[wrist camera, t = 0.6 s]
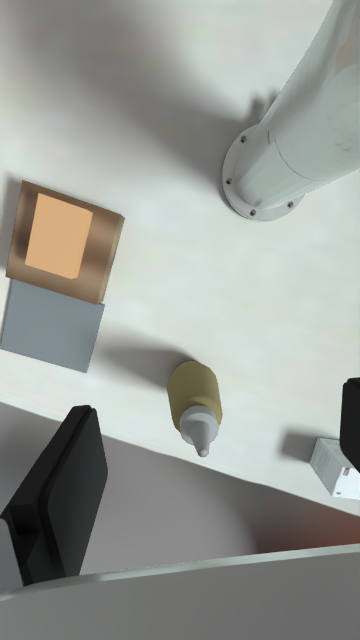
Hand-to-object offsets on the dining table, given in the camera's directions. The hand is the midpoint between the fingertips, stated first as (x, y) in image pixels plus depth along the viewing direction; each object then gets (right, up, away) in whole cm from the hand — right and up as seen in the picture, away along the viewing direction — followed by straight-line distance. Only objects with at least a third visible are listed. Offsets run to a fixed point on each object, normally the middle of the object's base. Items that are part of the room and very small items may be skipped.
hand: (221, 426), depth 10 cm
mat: (-22, +3, +32) cm, 39 cm away
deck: (-18, +15, +29) cm, 37 cm away
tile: (-17, +15, +26) cm, 35 cm away
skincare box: (+27, -21, +40) cm, 52 cm away
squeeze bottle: (0, -6, +35) cm, 36 cm away
